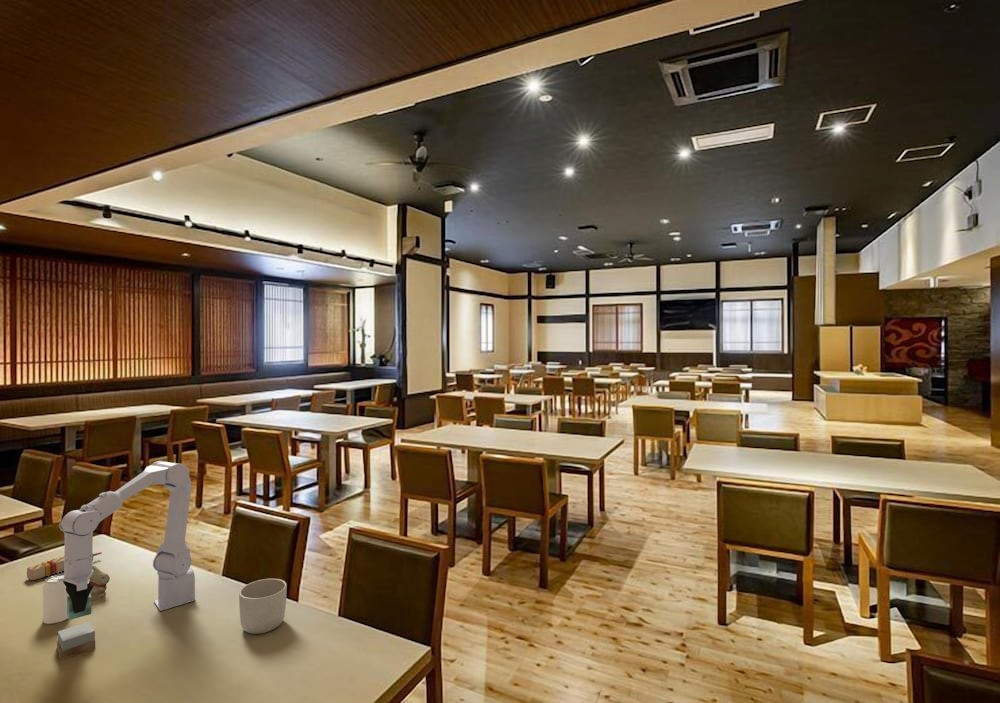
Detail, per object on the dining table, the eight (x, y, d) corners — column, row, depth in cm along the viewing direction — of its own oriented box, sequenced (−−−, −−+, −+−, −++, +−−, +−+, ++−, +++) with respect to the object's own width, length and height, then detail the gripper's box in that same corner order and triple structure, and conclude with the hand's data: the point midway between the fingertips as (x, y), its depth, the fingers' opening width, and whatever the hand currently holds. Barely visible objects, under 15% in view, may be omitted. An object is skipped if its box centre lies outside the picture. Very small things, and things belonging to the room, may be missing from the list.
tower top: (89, 630, 138) (89, 621, 138) (94, 640, 134) (94, 630, 134) (57, 640, 133) (58, 631, 133) (62, 651, 129) (62, 641, 129)
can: (54, 626, 144) (55, 584, 144) (36, 623, 145) (36, 581, 145) (77, 614, 150) (78, 574, 150) (60, 611, 151) (60, 571, 151)
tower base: (90, 639, 138) (90, 630, 138) (95, 650, 134) (95, 640, 134) (56, 650, 133) (57, 640, 133) (60, 661, 129) (60, 651, 129)
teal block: (88, 607, 137) (88, 591, 137) (91, 613, 134) (91, 596, 134) (66, 613, 134) (67, 596, 134) (69, 620, 131) (69, 602, 131)
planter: (293, 625, 146) (294, 588, 146) (248, 643, 137) (249, 603, 136) (275, 610, 154) (275, 574, 154) (231, 626, 145) (232, 588, 145)
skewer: (33, 583, 169) (33, 568, 169) (25, 579, 172) (25, 564, 172) (105, 561, 187) (105, 547, 187) (97, 557, 190) (97, 544, 190)
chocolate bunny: (97, 601, 157) (97, 569, 157) (72, 601, 158) (72, 569, 157) (111, 593, 163) (111, 562, 163) (87, 592, 163) (87, 561, 163)
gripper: (55, 552, 136) (55, 603, 136) (61, 570, 126) (61, 624, 126) (89, 545, 141) (88, 594, 141) (97, 561, 131) (97, 614, 131)
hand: (78, 608), depth 134 cm, fingers closed on teal block, 4 cm apart
